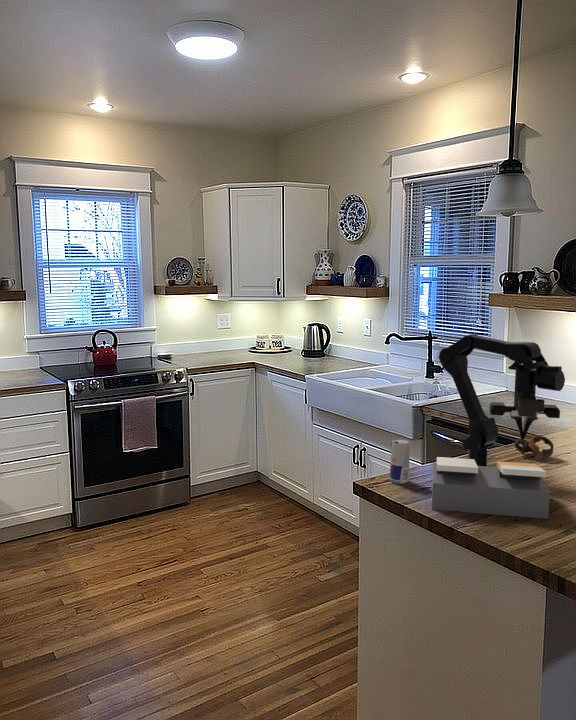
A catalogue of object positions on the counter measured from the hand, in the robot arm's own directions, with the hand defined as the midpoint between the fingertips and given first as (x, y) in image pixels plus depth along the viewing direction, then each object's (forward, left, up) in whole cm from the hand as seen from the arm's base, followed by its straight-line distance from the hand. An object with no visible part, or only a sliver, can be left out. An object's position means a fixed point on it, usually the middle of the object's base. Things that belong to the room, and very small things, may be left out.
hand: (522, 438), depth 187 cm
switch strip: (+17, -18, -12) cm, 27 cm away
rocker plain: (+14, -26, -2) cm, 29 cm away
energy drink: (-2, -36, -12) cm, 38 cm away
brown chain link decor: (-20, +15, -12) cm, 28 cm away
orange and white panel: (+20, -11, -2) cm, 22 cm away
